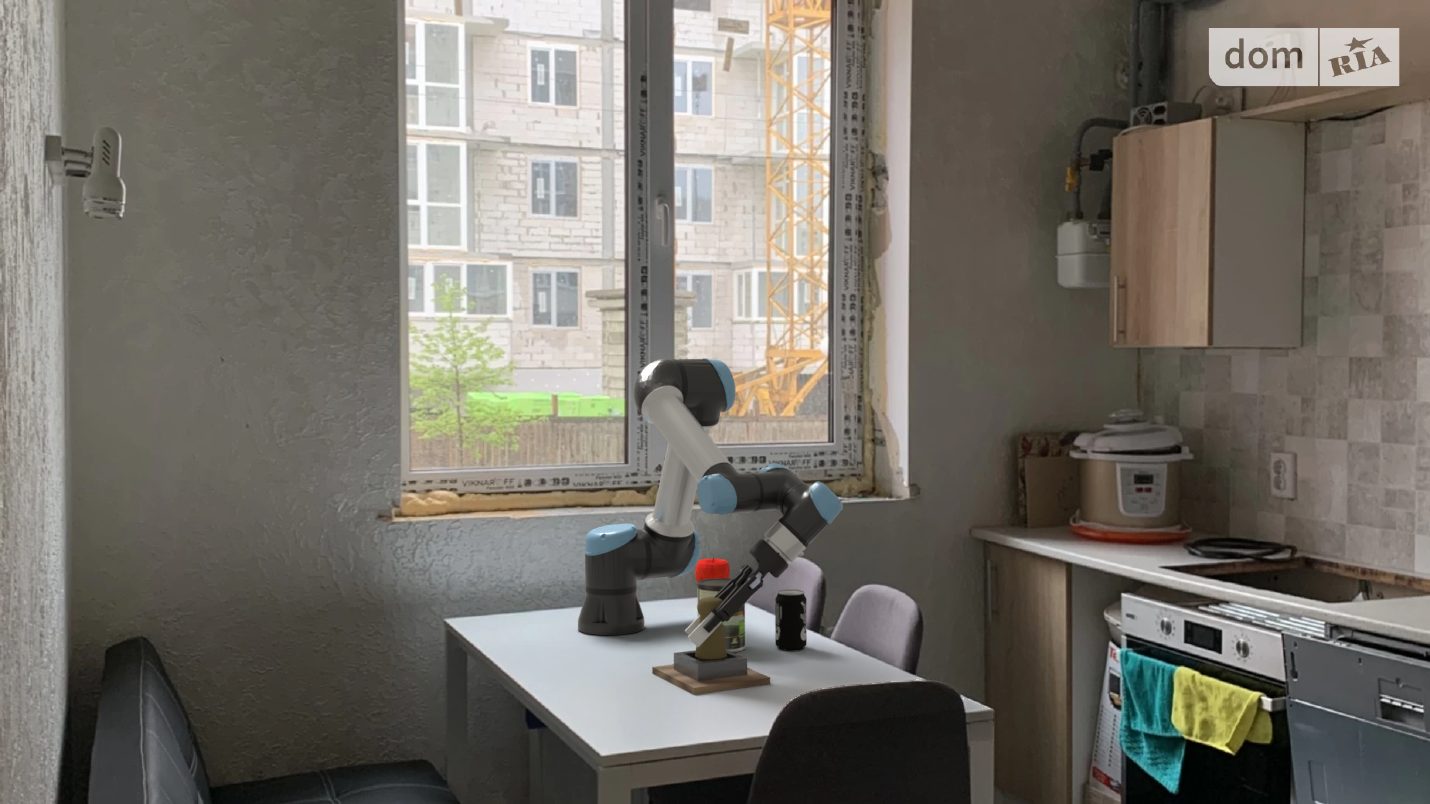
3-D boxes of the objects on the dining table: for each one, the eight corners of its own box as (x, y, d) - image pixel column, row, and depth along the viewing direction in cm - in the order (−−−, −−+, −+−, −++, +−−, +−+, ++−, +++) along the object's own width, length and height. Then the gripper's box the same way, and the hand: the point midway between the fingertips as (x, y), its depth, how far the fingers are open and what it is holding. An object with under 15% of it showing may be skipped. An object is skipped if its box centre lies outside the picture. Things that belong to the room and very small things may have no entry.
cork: (731, 653, 234) (730, 596, 233) (720, 660, 228) (720, 601, 228) (701, 651, 236) (701, 594, 235) (690, 657, 230) (690, 599, 230)
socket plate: (652, 673, 236) (652, 650, 236) (725, 663, 244) (724, 641, 244) (693, 694, 220) (693, 670, 220) (770, 683, 228) (770, 660, 228)
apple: (692, 602, 310) (692, 560, 310) (698, 596, 318) (698, 555, 318) (727, 603, 308) (727, 560, 308) (732, 597, 317) (732, 555, 317)
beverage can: (797, 652, 253) (797, 595, 253) (769, 649, 257) (769, 592, 257) (811, 646, 259) (811, 590, 259) (784, 643, 262) (784, 587, 262)
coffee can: (749, 643, 262) (749, 578, 262) (740, 654, 252) (740, 586, 252) (702, 641, 264) (702, 577, 264) (692, 652, 254) (691, 585, 254)
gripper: (798, 571, 224) (710, 663, 223) (782, 557, 242) (700, 642, 241) (770, 543, 223) (681, 635, 222) (755, 531, 241) (673, 616, 240)
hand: (691, 638), depth 231 cm, fingers closed on cork, 5 cm apart
